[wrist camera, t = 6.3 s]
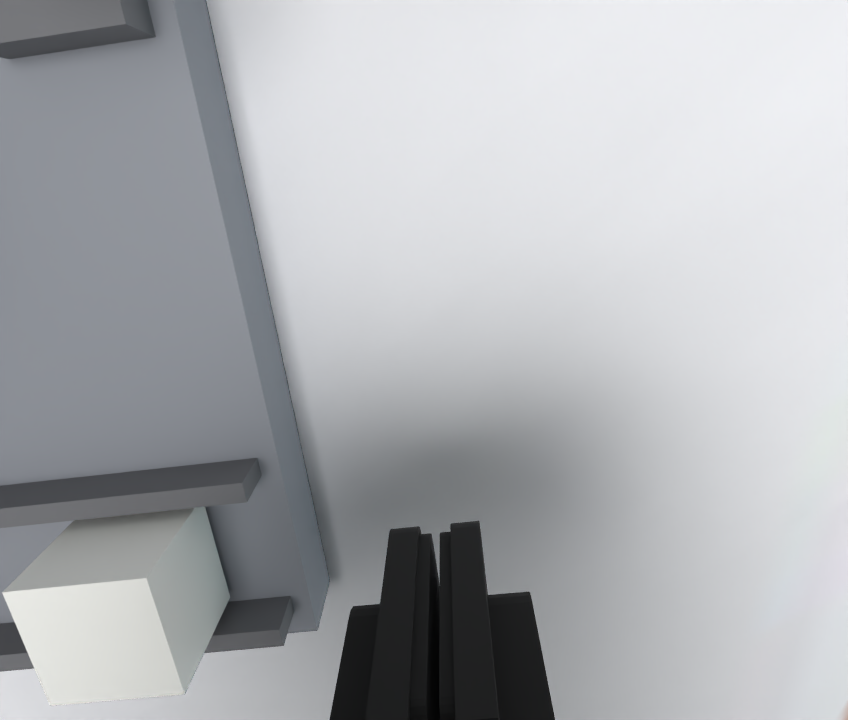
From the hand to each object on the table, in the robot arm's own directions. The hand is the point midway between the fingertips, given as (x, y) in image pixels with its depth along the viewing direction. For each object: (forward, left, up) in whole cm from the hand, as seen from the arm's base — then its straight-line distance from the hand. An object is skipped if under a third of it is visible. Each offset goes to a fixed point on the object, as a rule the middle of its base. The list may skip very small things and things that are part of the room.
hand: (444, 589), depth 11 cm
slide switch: (-1, +7, -4) cm, 8 cm away
